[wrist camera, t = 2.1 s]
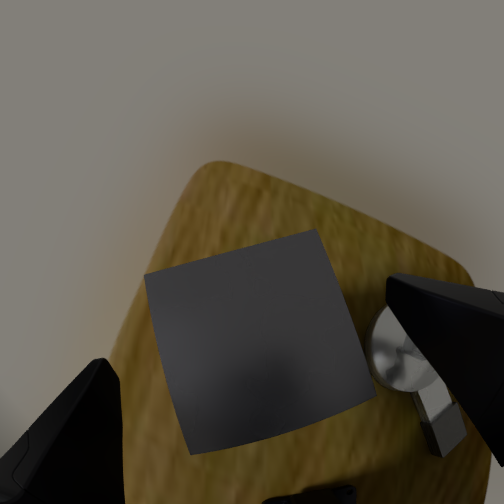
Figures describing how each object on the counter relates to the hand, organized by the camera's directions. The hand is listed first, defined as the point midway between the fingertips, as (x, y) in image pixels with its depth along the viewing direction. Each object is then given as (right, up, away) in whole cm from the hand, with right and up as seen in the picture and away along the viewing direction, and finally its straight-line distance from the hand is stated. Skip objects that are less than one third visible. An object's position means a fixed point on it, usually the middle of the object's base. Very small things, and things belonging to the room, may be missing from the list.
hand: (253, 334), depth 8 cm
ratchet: (+12, -7, +8) cm, 17 cm away
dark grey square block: (0, -4, +9) cm, 10 cm away
